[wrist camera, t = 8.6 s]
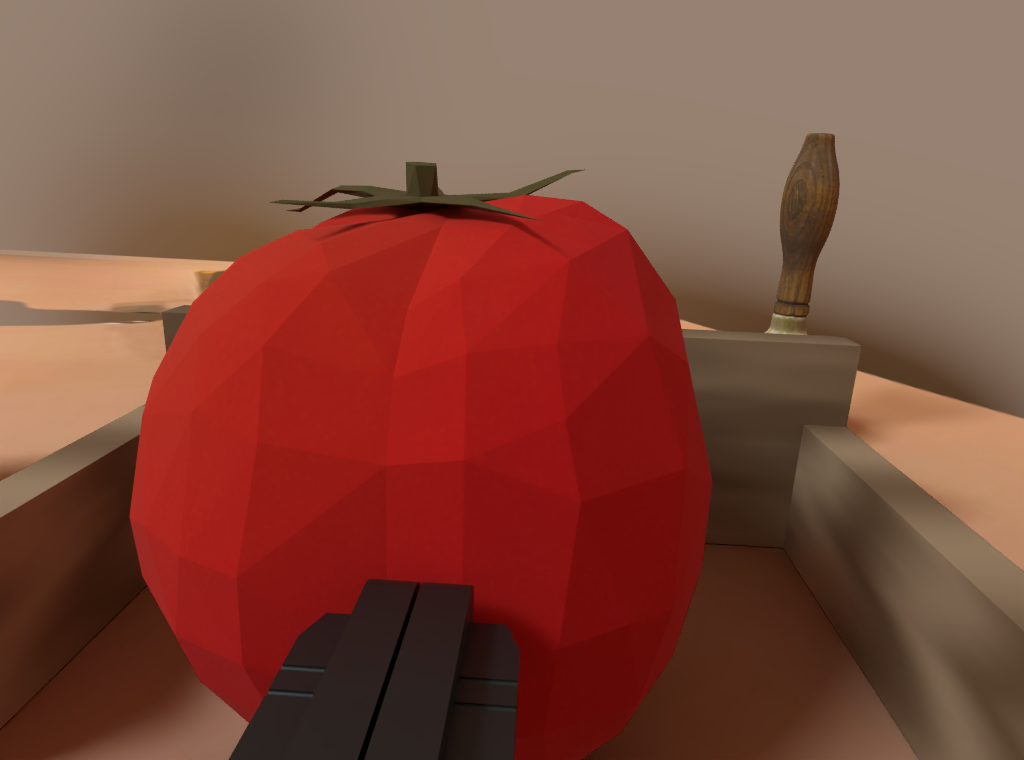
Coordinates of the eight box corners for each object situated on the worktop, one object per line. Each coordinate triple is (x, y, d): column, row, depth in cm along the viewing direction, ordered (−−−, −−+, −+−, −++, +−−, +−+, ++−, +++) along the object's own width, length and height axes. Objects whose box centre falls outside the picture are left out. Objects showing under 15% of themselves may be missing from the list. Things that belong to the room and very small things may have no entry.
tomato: (763, 685, 18) (849, 179, 15) (431, 1206, 9) (438, 125, 5) (435, 530, 26) (437, 170, 22) (65, 718, 16) (-40, 141, 13)
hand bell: (698, 409, 42) (730, 138, 37) (843, 427, 39) (896, 141, 35) (688, 456, 34) (727, 124, 30) (867, 483, 32) (939, 126, 27)
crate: (1083, 897, 13) (1218, 528, 11) (-142, 795, 14) (-247, 442, 12) (808, 531, 27) (843, 336, 25) (202, 494, 28) (183, 305, 26)
